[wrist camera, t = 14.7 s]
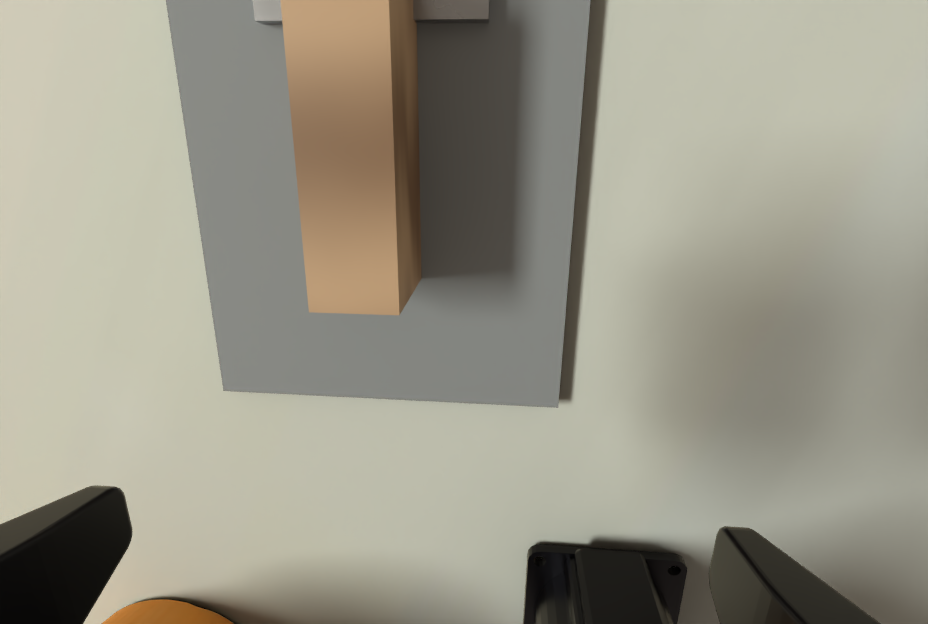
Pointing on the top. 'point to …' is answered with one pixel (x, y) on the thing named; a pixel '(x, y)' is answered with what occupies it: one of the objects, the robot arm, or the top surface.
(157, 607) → the flower pot
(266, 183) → the mat
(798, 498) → the top surface
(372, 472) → the top surface
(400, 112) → the turner
